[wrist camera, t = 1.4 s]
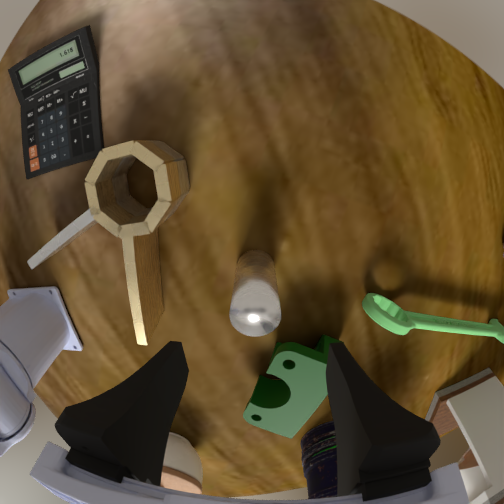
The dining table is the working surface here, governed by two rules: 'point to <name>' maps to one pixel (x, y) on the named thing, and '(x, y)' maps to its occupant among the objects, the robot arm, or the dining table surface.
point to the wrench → (424, 320)
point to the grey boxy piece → (475, 432)
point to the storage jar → (320, 461)
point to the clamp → (290, 387)
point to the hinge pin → (255, 295)
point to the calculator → (59, 103)
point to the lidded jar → (181, 466)
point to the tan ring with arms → (130, 220)
